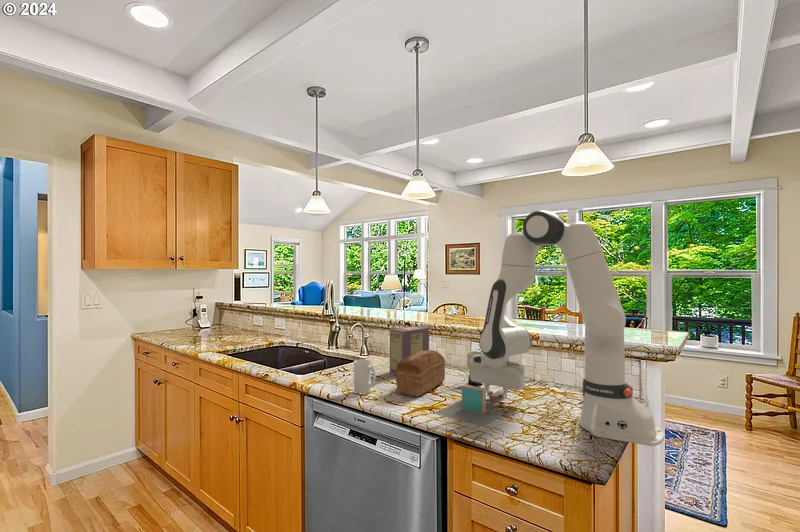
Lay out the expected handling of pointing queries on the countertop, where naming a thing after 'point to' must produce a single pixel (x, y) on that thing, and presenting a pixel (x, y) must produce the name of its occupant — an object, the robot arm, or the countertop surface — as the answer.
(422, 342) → the box
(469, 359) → the character mug
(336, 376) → the countertop surface
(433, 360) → the bread
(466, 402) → the block
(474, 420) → the gray rectangular plate
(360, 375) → the mug
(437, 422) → the countertop surface
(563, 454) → the countertop surface
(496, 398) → the turner
